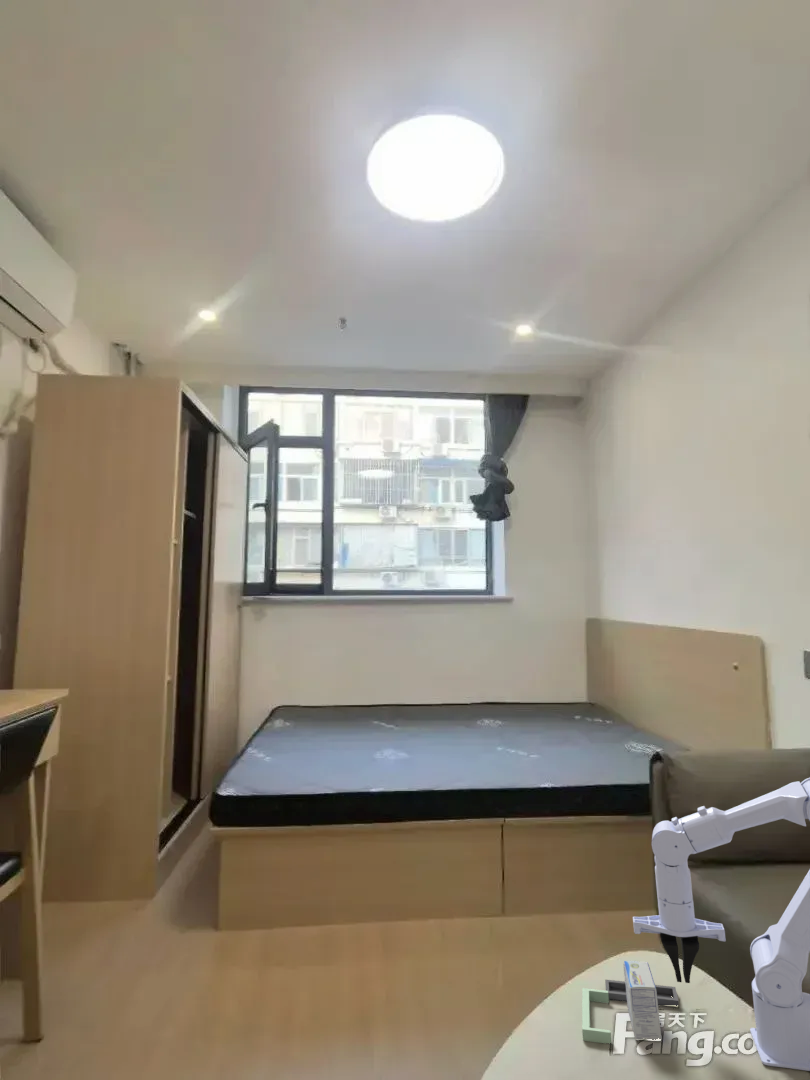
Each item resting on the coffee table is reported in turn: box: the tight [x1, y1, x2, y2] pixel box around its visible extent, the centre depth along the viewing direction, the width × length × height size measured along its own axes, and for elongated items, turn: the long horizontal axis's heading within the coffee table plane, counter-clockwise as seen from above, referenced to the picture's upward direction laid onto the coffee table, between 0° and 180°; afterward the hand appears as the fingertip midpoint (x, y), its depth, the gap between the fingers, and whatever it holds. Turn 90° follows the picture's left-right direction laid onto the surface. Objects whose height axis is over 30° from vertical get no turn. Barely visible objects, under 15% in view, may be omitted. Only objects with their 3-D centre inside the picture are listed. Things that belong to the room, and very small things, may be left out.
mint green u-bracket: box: [581, 987, 612, 1045], centre depth 109 cm, size 5×11×2 cm, turn 164°
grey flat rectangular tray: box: [655, 984, 680, 1006], centre depth 114 cm, size 5×4×1 cm
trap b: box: [604, 979, 627, 1003], centre depth 116 cm, size 5×4×1 cm
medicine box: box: [623, 960, 663, 1040], centre depth 107 cm, size 8×4×9 cm, turn 168°
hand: (682, 979), depth 106 cm, fingers closed
